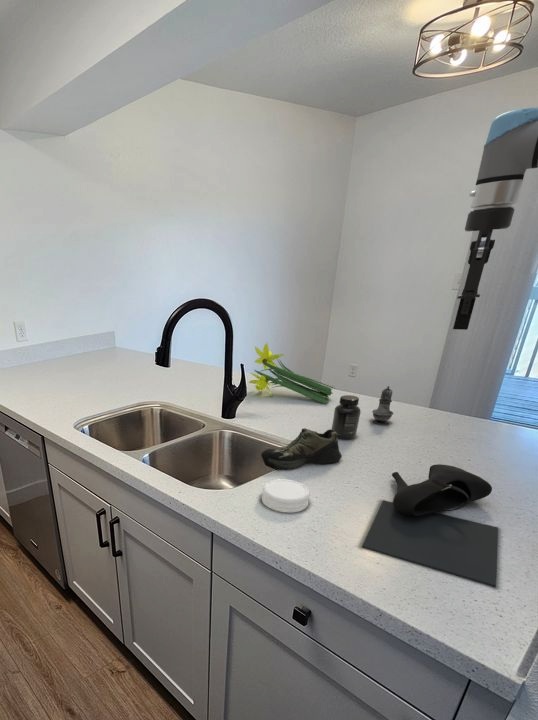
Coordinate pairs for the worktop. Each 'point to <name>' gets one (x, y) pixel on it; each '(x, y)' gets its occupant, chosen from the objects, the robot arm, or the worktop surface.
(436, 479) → the high-heeled shoe
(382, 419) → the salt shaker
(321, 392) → the daffodil flowers
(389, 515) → the mat
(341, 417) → the supplement bottle
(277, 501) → the coaster
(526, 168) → the robot arm
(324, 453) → the hiking shoe
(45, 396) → the worktop surface
